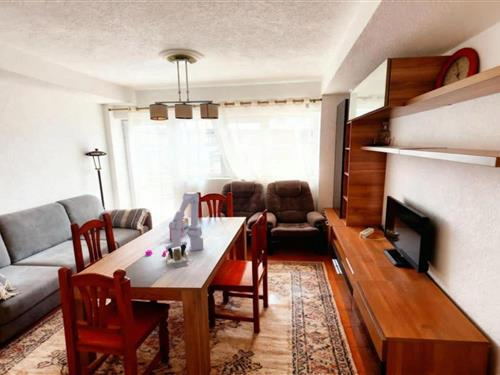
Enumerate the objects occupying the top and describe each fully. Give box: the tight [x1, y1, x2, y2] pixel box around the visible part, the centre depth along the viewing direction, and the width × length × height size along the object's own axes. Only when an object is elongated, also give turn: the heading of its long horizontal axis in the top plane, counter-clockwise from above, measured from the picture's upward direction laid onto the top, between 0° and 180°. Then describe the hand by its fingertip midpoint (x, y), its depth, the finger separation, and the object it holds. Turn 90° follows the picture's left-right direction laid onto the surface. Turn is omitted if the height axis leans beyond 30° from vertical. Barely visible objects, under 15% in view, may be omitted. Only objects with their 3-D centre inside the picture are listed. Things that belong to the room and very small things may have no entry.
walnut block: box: [172, 247, 181, 261], centre depth 186 cm, size 4×4×7 cm
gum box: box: [169, 217, 190, 240], centre depth 236 cm, size 22×7×13 cm, turn 166°
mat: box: [172, 261, 189, 269], centre depth 178 cm, size 9×7×1 cm
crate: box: [165, 249, 189, 265], centre depth 187 cm, size 14×10×4 cm
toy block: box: [144, 249, 168, 257], centre depth 195 cm, size 15×6×8 cm, turn 87°
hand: (177, 256), depth 186 cm, fingers open, 7 cm apart
